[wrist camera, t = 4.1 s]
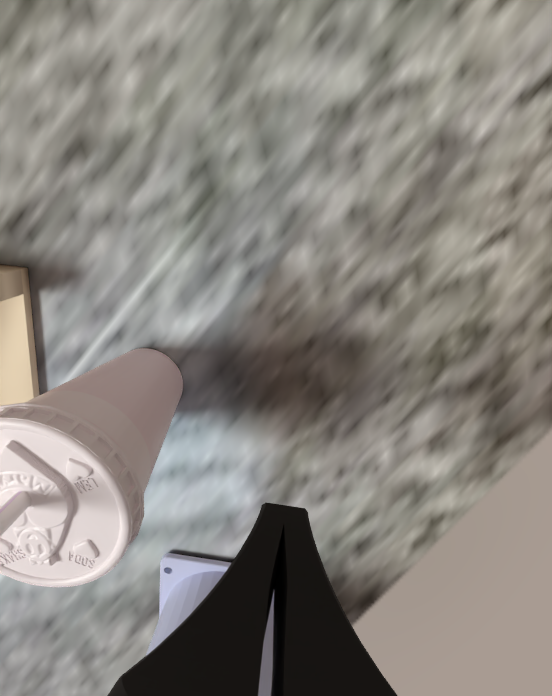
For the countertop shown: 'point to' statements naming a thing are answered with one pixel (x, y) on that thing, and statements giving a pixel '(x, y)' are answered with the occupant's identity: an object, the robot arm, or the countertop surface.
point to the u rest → (16, 338)
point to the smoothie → (82, 468)
